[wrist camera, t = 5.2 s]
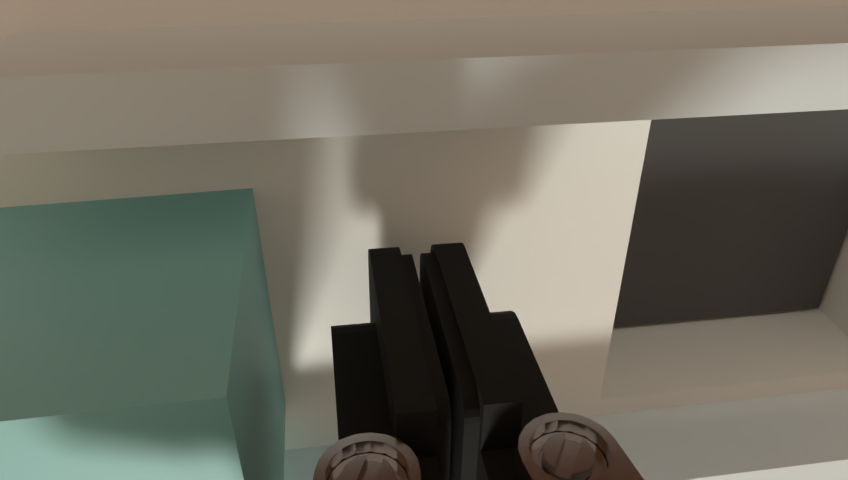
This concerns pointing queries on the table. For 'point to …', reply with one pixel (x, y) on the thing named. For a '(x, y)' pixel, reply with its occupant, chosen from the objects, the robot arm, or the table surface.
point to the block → (138, 341)
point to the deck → (497, 188)
